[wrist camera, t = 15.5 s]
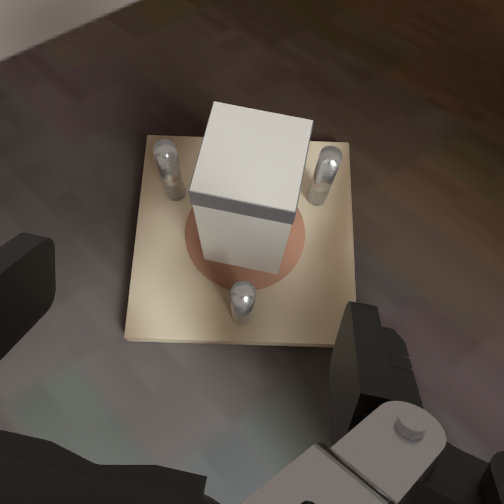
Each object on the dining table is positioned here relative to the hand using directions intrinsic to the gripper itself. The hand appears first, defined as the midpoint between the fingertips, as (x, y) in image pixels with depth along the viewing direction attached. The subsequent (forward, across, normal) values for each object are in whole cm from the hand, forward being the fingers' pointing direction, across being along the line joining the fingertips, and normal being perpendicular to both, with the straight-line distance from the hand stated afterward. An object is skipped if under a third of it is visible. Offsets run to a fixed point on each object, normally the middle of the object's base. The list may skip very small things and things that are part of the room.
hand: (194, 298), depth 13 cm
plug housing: (+15, 0, +4) cm, 16 cm away
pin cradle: (+16, 0, +6) cm, 17 cm away
